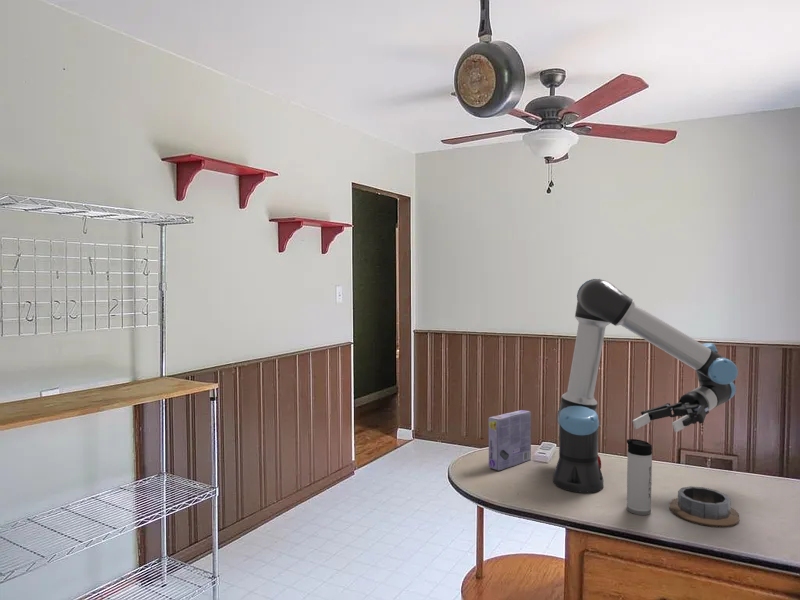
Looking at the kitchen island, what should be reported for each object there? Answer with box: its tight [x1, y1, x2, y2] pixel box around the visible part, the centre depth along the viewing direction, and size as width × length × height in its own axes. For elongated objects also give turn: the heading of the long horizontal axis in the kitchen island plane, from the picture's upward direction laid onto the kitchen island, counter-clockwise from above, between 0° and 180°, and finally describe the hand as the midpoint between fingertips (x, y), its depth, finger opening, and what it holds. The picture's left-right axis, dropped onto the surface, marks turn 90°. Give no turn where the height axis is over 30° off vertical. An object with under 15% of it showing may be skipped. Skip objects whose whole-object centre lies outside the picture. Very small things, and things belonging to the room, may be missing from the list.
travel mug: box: [626, 438, 653, 516], centre depth 155 cm, size 6×7×20 cm
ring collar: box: [668, 485, 740, 528], centre depth 154 cm, size 17×17×5 cm
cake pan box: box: [488, 409, 532, 472], centre depth 193 cm, size 19×5×18 cm, turn 130°
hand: (653, 426), depth 162 cm, fingers open, 13 cm apart
